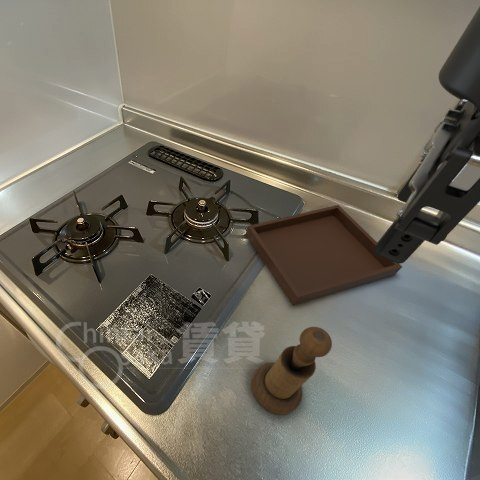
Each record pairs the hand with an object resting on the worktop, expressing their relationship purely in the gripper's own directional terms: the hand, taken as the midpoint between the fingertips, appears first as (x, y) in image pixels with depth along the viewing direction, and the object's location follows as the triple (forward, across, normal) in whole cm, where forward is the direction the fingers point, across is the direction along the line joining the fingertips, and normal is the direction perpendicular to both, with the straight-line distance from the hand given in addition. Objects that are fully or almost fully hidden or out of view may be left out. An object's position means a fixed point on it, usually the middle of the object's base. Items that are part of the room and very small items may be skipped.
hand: (398, 226), depth 27 cm
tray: (+28, +22, +5) cm, 36 cm away
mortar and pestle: (+28, -7, 0) cm, 29 cm away
